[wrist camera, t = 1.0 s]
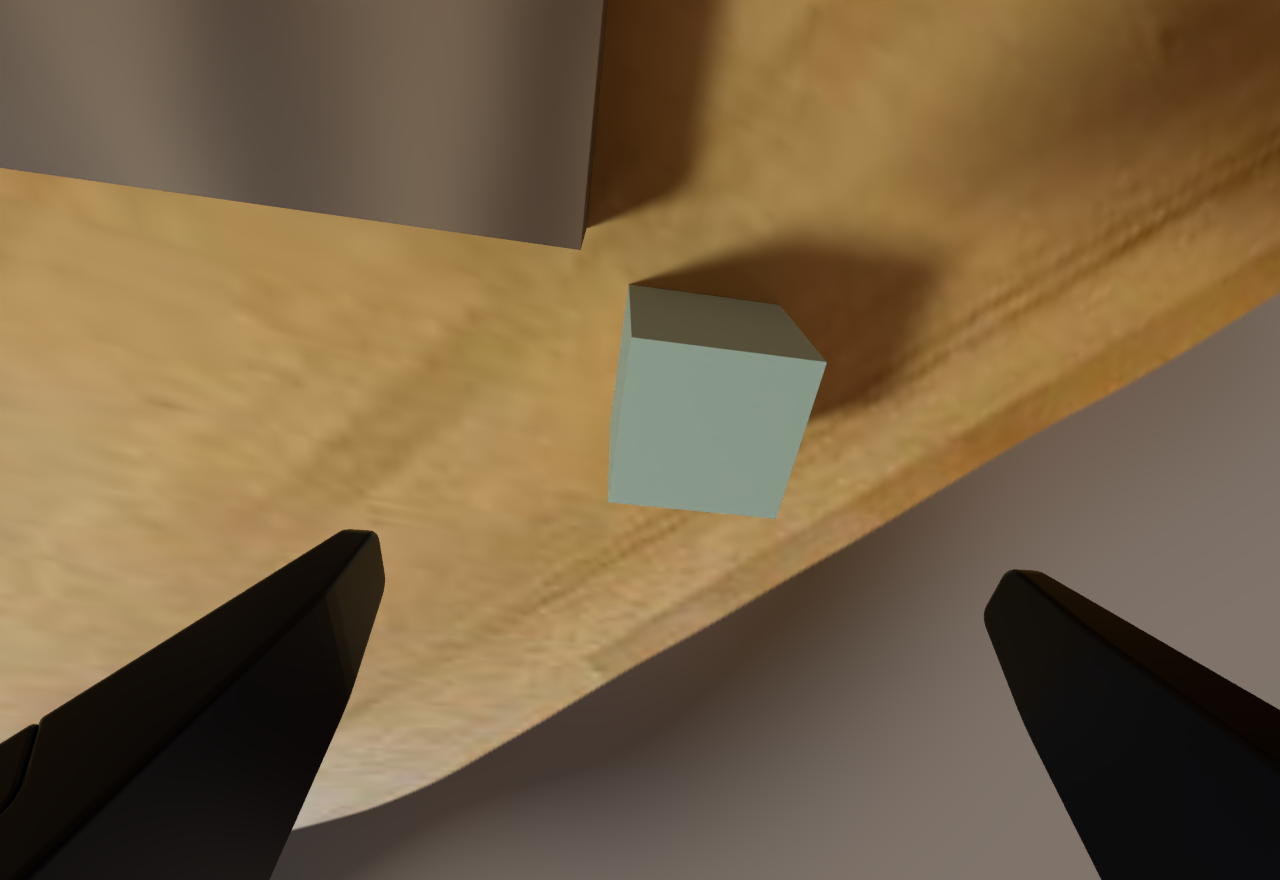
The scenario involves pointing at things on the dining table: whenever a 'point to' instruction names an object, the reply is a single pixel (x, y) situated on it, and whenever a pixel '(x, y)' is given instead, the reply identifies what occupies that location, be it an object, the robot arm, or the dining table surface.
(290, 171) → the walnut block
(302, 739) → the robot arm
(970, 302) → the dining table surface
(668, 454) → the sage cube
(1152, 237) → the dining table surface
